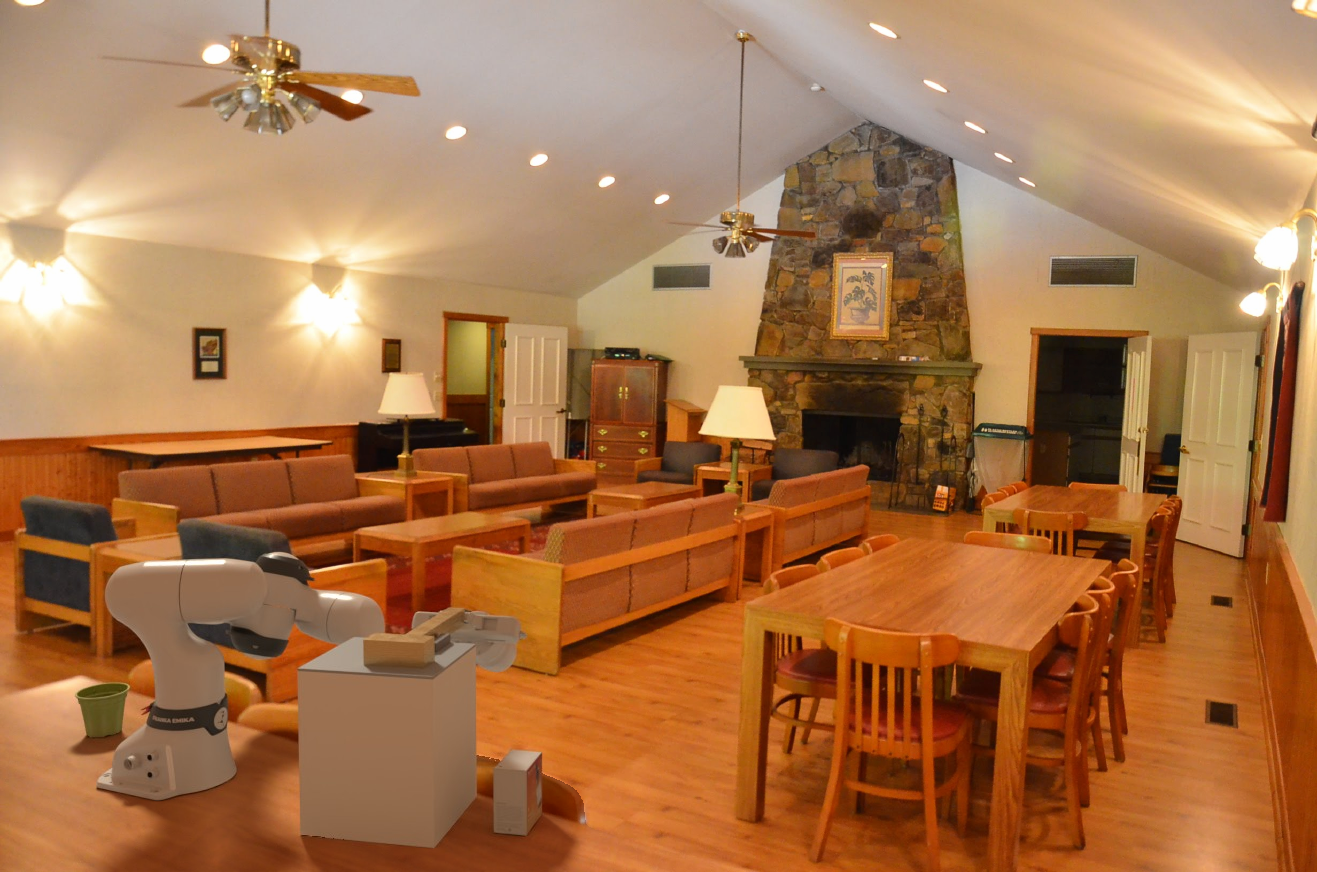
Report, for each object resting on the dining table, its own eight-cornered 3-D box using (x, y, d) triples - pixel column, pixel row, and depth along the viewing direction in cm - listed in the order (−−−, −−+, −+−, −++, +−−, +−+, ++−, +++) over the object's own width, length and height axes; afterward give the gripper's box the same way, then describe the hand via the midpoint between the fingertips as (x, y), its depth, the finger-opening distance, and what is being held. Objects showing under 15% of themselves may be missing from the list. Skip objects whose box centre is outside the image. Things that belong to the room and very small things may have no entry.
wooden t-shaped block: (363, 664, 148) (363, 639, 148) (431, 622, 174) (430, 600, 174) (424, 668, 147) (424, 643, 146) (483, 625, 172) (483, 603, 172)
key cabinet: (300, 835, 148) (297, 658, 146) (356, 786, 166) (353, 628, 164) (434, 847, 144) (432, 666, 143) (476, 796, 162) (475, 634, 160)
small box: (526, 837, 148) (526, 771, 147) (492, 833, 149) (492, 767, 149) (543, 814, 156) (543, 751, 155) (510, 810, 157) (510, 748, 156)
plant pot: (113, 741, 185) (112, 698, 185) (65, 741, 185) (64, 697, 185) (140, 724, 194) (139, 682, 194) (94, 723, 195) (93, 682, 194)
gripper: (527, 654, 181) (506, 636, 169) (425, 648, 184) (397, 630, 172) (532, 622, 184) (512, 601, 171) (431, 616, 187) (404, 596, 175)
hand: (453, 615), depth 172 cm, fingers open, 3 cm apart
